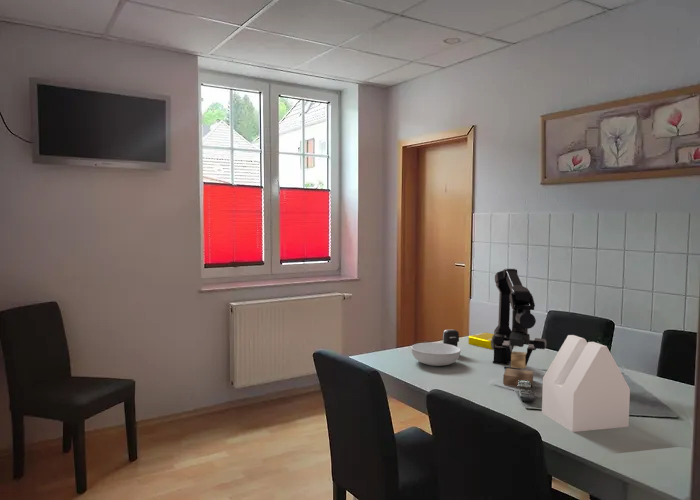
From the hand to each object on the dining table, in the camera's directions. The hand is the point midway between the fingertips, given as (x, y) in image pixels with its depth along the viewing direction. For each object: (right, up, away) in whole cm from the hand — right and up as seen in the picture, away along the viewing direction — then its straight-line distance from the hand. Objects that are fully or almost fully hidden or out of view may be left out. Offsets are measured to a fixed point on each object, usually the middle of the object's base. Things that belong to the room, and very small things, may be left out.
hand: (518, 363), depth 199 cm
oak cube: (0, -1, 0) cm, 1 cm away
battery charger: (-18, -5, +40) cm, 45 cm away
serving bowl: (-27, -6, +26) cm, 38 cm away
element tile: (+5, -4, +61) cm, 62 cm away
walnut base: (0, -8, 0) cm, 8 cm away
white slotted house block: (+9, -10, -36) cm, 39 cm away
